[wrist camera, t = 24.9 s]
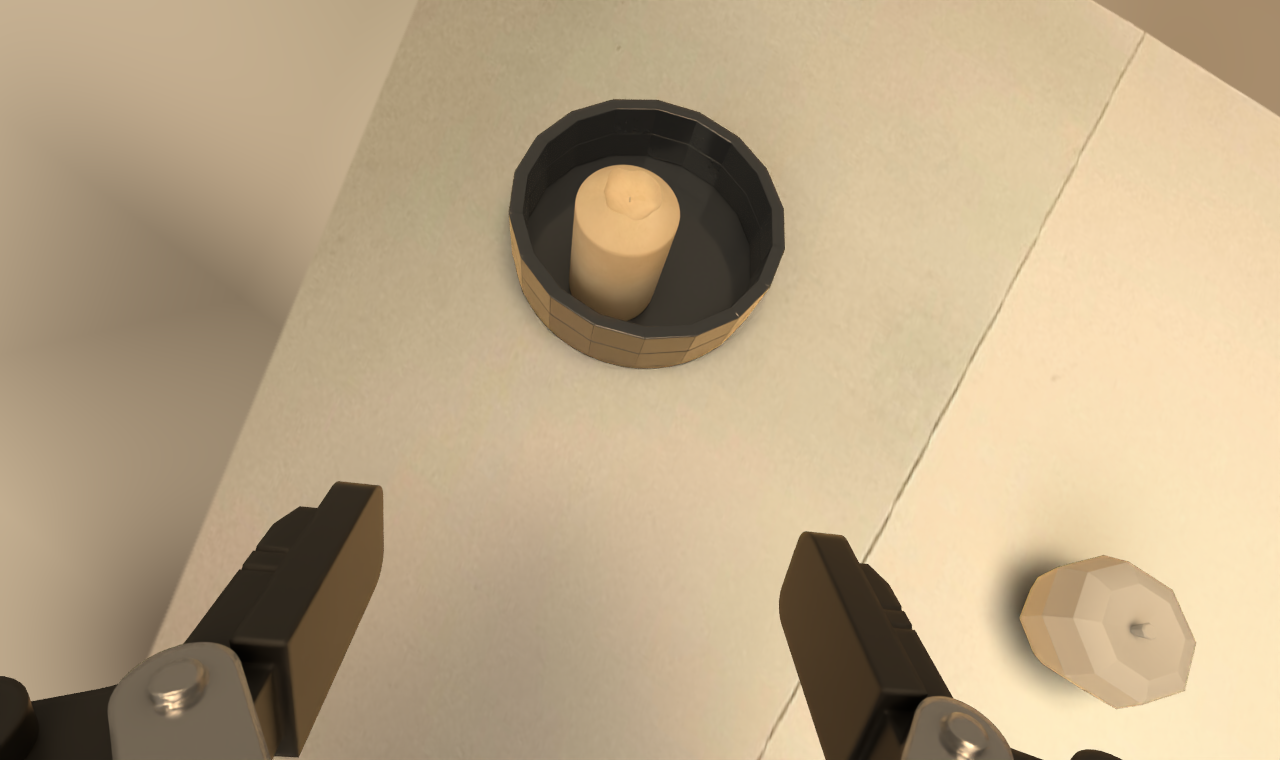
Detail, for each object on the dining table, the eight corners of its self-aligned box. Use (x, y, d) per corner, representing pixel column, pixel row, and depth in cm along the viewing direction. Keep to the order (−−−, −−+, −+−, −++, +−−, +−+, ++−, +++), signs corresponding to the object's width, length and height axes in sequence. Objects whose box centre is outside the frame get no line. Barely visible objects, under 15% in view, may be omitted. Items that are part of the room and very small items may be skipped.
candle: (598, 339, 39) (616, 257, 30) (552, 271, 40) (555, 171, 31) (669, 299, 41) (707, 210, 31) (623, 235, 42) (646, 130, 32)
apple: (991, 685, 36) (1084, 703, 30) (989, 547, 39) (1073, 537, 33) (1118, 709, 37) (1234, 731, 30) (1106, 571, 39) (1210, 566, 33)
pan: (614, 420, 38) (624, 395, 33) (463, 216, 41) (453, 167, 36) (806, 288, 43) (839, 250, 38) (660, 116, 46) (673, 61, 41)
